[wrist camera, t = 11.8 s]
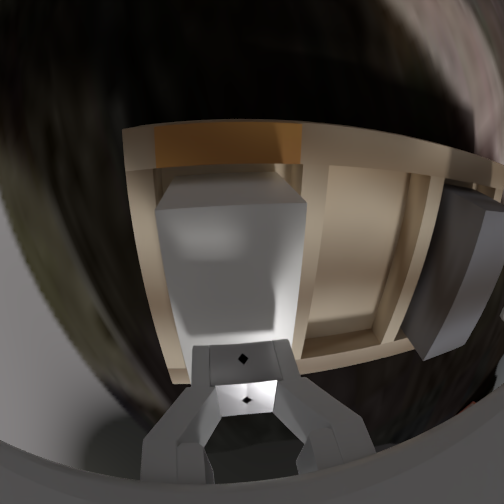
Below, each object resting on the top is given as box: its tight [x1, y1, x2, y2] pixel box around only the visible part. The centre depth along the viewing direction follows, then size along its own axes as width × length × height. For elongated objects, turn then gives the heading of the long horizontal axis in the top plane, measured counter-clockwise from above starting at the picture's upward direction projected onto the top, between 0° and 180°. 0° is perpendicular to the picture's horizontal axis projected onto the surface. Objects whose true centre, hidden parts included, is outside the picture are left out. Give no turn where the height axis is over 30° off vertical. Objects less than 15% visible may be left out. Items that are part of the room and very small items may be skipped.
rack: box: [122, 119, 504, 384], centre depth 12 cm, size 13×20×6 cm
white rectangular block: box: [155, 172, 307, 382], centre depth 11 cm, size 9×4×4 cm, turn 0°
